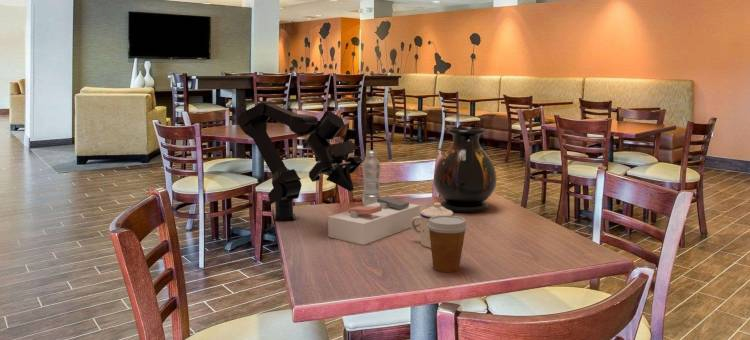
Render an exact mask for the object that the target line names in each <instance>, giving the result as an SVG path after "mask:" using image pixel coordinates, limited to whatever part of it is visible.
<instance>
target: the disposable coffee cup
mask: <svg viewBox="0 0 750 340" xmlns="http://www.w3.org/2000/svg"><path fill="white" fill-rule="evenodd" d="M427 226H428V228H429V232H430V242H431V248H430V250H431V256H432V257H431V258H432V260H431V261H432V267H433V269H434V270H435V271H438V272H443V273H453V272H457V271H459V270H460V265H461V261H462V260H461V258H462V253H463V252H462V251H463V246H464V239H465V234H466V230H467V228H468V224H467V222H466V219H465V218H464V217H461V216H457V215H454V216H449V215H441V216H434V217H431V218H430V219H429V223H428V224H427Z"/></svg>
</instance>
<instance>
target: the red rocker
mask: <svg viewBox="0 0 750 340" xmlns="http://www.w3.org/2000/svg"><path fill="white" fill-rule="evenodd" d="M347 211H348V213H351V211H354V212H358V214H373V213H376V212H380V211H382V208H381V207H375V206H364V205H357V206H353V207H351V208H347Z"/></svg>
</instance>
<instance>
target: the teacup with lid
mask: <svg viewBox="0 0 750 340" xmlns="http://www.w3.org/2000/svg"><path fill="white" fill-rule="evenodd" d="M441 215H449V216H455V215H454V212H453V211H451V210H448V209H446V208H444V207H442V206H441V202H438V201H437V202H433V205H432V206H429V207H428V208H425V209H422V210H420V216H416V217H414V218H413V219H412V220H411V229H412V231H413V232H414V233H415V234H418V235H420V244H421V245H422V246H423V247H425V248H430V249H431V242H430V232H429V228H428V226H427V224H428V223H429V219H430V218H431V217H434V216H441ZM415 219H420V230H418V229H417V228H416V226H415V225H414V221H415Z"/></svg>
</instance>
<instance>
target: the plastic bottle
mask: <svg viewBox="0 0 750 340" xmlns="http://www.w3.org/2000/svg"><path fill="white" fill-rule="evenodd" d="M365 153H366V154H365V157H366V158H365V159H364V160H363V162H362V163H361V169H362V176H363V193H362V198H361V200H362V206H366V205H370V204H373V203H377V198H381V197H382V195H381V189H380V177H381V176H380V175H381V169H382V168H381V167H382V166H381V163H380V161H379V159H378V152H377V150H374V149H370V150H366V151H365Z"/></svg>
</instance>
